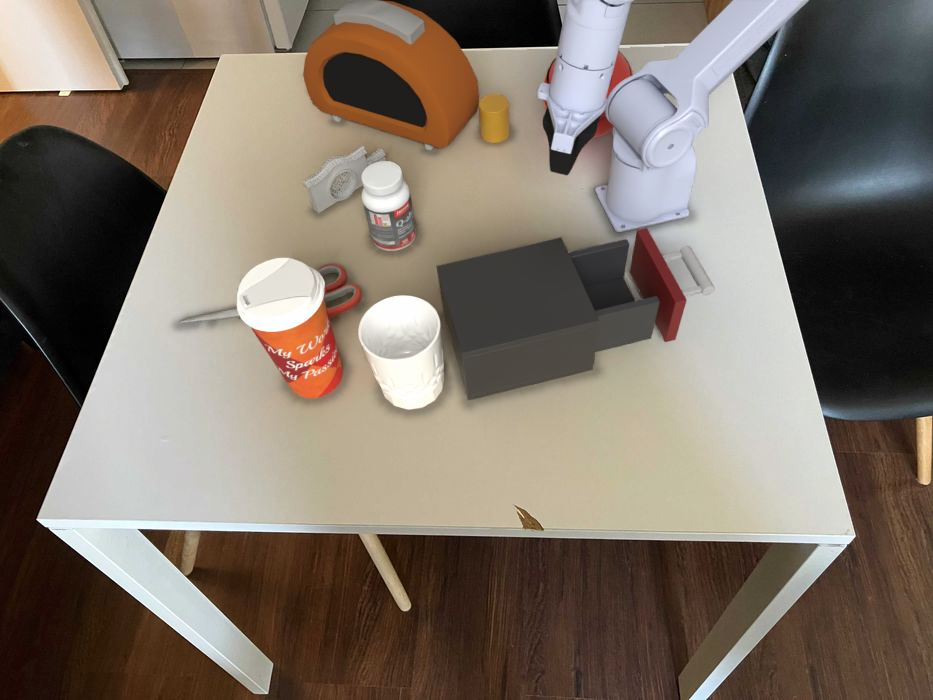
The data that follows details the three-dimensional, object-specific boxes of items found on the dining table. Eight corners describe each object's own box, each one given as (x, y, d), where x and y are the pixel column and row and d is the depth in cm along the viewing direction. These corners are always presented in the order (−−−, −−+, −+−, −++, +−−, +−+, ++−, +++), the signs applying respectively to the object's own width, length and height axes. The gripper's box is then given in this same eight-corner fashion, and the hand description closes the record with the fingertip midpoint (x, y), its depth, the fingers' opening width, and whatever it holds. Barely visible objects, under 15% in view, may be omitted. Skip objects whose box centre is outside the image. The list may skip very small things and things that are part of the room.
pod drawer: (676, 260, 83) (686, 218, 77) (715, 330, 77) (730, 289, 71) (534, 294, 81) (534, 253, 76) (563, 367, 75) (565, 329, 70)
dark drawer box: (559, 289, 83) (561, 237, 76) (592, 370, 76) (599, 320, 69) (444, 316, 82) (436, 265, 75) (468, 400, 75) (462, 353, 68)
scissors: (178, 320, 84) (173, 312, 83) (349, 262, 87) (346, 254, 86) (188, 370, 80) (183, 362, 79) (367, 307, 83) (365, 299, 82)
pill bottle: (410, 255, 87) (398, 194, 79) (366, 250, 88) (350, 189, 80) (422, 221, 91) (411, 159, 83) (378, 217, 92) (364, 155, 84)
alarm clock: (312, 117, 104) (279, 7, 91) (347, 83, 109) (320, -28, 95) (451, 161, 97) (438, 48, 83) (483, 122, 101) (475, 8, 87)
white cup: (422, 427, 74) (409, 373, 65) (361, 394, 76) (341, 339, 68) (463, 371, 77) (455, 313, 69) (403, 342, 80) (389, 283, 72)
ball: (547, 99, 103) (549, 19, 93) (632, 104, 101) (643, 24, 91) (535, 154, 96) (535, 74, 87) (625, 161, 94) (636, 80, 85)
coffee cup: (292, 420, 75) (247, 335, 63) (268, 363, 80) (221, 274, 67) (366, 386, 77) (335, 297, 65) (338, 333, 81) (304, 240, 69)
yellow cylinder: (505, 122, 101) (504, 91, 97) (513, 139, 98) (512, 108, 94) (477, 128, 100) (475, 97, 96) (484, 145, 98) (482, 115, 94)
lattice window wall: (382, 164, 97) (374, 128, 93) (390, 170, 97) (383, 134, 92) (310, 210, 93) (298, 175, 88) (318, 217, 92) (307, 181, 88)
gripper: (560, 12, 74) (538, 126, 85) (530, 83, 65) (510, 200, 76) (627, 27, 74) (596, 140, 84) (606, 101, 65) (575, 217, 75)
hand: (559, 170), depth 80 cm, fingers closed
